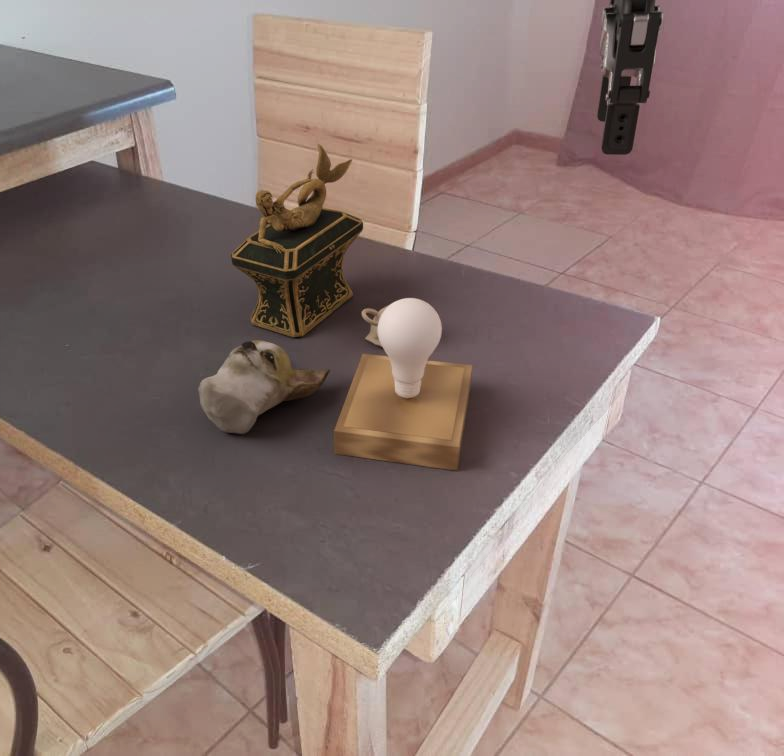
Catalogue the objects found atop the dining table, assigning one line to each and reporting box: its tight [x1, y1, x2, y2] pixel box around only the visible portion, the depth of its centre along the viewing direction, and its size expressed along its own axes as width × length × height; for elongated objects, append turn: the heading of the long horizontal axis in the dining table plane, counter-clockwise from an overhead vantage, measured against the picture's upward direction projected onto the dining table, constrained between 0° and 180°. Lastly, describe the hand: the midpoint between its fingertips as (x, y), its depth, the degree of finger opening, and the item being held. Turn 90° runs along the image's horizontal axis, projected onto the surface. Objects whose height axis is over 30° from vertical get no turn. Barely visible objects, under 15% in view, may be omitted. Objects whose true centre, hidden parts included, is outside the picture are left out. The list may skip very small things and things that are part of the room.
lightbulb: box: [377, 297, 443, 398], centre depth 76 cm, size 6×6×11 cm
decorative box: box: [230, 143, 364, 338], centre depth 97 cm, size 20×10×20 cm, turn 144°
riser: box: [333, 353, 473, 471], centre depth 80 cm, size 12×14×3 cm
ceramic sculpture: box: [197, 339, 331, 435], centre depth 82 cm, size 11×9×15 cm
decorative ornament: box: [361, 304, 390, 348], centre depth 92 cm, size 4×8×5 cm, turn 108°
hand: (612, 135), depth 64 cm, fingers open, 8 cm apart
